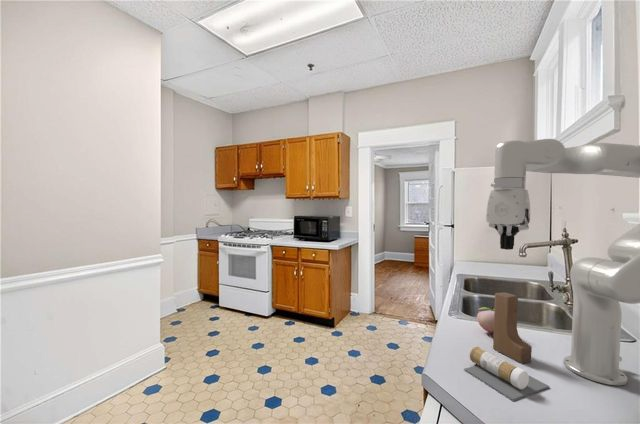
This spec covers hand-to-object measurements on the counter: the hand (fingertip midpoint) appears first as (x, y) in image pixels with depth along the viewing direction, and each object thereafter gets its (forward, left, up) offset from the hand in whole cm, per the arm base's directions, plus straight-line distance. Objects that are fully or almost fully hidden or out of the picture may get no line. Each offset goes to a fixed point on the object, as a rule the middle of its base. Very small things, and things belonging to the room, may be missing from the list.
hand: (506, 248), depth 80 cm
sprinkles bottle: (+8, -3, -30) cm, 32 cm away
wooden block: (-7, -2, -33) cm, 34 cm away
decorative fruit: (-15, -14, -33) cm, 39 cm away
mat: (+7, +5, -33) cm, 34 cm away
